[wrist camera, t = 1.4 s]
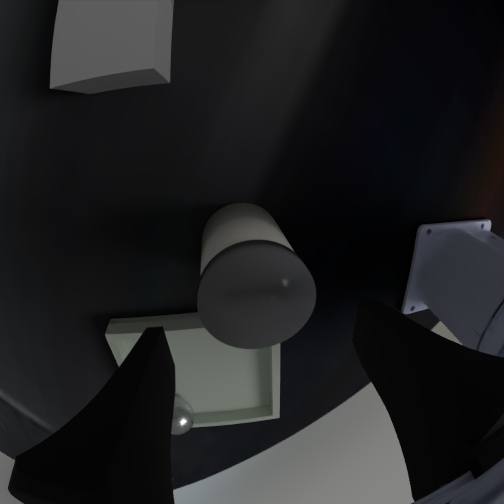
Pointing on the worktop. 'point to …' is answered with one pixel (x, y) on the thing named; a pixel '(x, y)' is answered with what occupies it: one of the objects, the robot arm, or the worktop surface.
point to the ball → (182, 416)
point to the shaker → (251, 280)
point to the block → (111, 44)
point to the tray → (209, 369)
